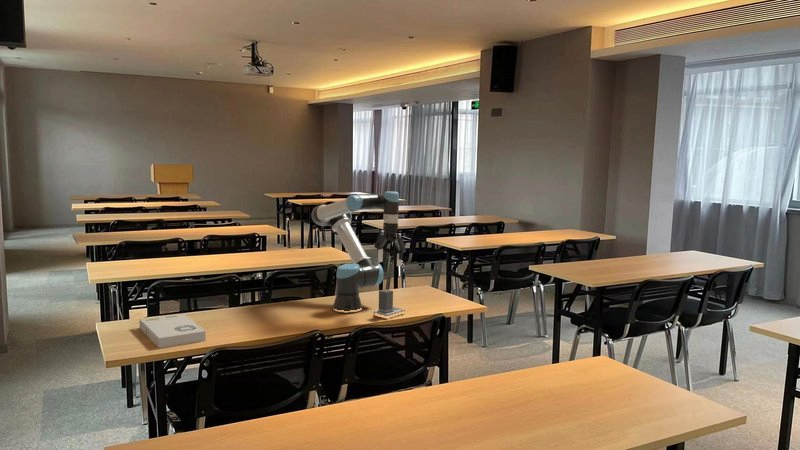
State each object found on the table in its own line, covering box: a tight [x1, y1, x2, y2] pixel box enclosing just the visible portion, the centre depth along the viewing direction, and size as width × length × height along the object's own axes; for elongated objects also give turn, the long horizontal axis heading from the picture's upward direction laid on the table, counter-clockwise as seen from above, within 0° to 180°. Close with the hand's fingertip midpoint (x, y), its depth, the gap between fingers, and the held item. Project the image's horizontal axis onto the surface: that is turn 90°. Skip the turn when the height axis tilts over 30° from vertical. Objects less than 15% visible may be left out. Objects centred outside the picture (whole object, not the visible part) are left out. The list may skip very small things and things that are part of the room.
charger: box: [378, 289, 394, 314], centre depth 290 cm, size 5×5×12 cm
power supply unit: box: [138, 312, 207, 349], centre depth 253 cm, size 19×33×5 cm, turn 37°
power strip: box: [373, 306, 406, 316], centre depth 293 cm, size 9×14×3 cm, turn 140°
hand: (389, 264), depth 294 cm, fingers open, 13 cm apart
